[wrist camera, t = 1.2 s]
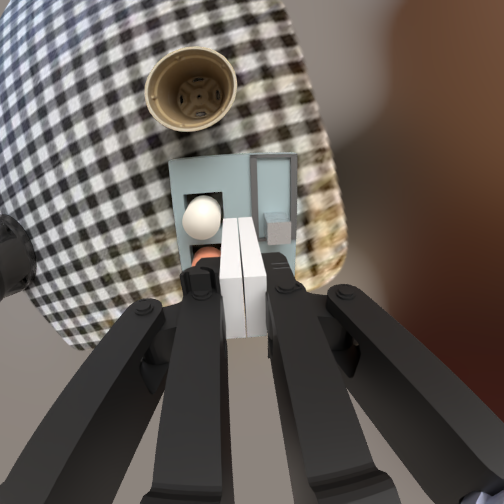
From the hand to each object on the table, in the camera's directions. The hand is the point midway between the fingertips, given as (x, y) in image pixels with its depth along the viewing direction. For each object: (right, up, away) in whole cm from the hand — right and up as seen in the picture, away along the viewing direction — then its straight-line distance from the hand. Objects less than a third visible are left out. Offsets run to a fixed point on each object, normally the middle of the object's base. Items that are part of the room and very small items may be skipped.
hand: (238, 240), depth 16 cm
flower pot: (-6, +19, +15) cm, 25 cm away
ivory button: (-5, +4, +19) cm, 20 cm away
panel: (-1, +4, +23) cm, 23 cm away
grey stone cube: (+4, +3, +21) cm, 21 cm away
